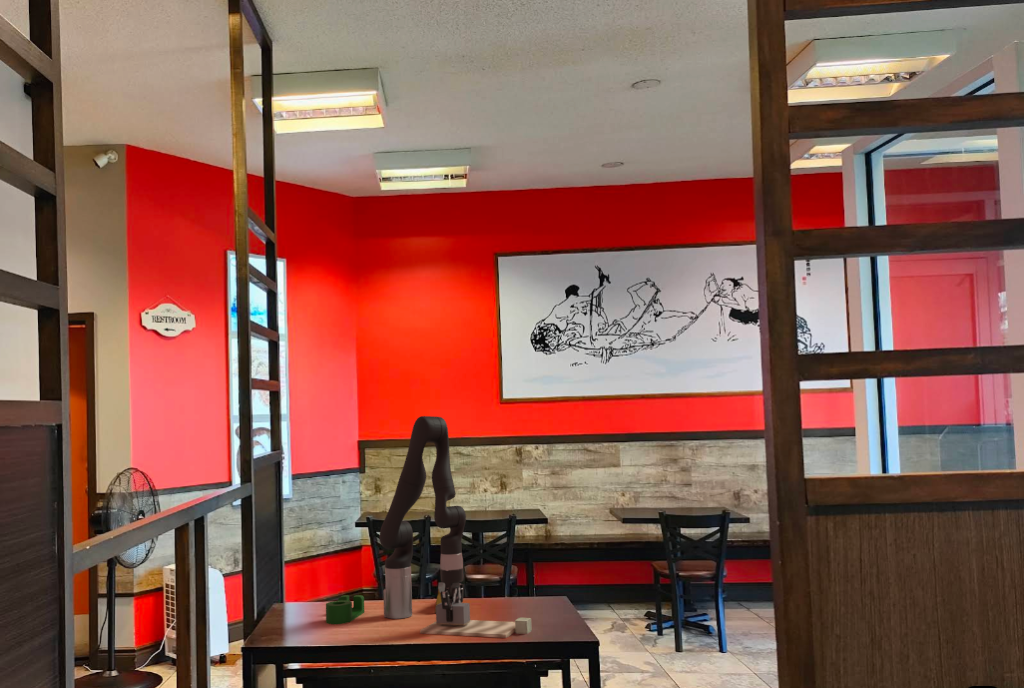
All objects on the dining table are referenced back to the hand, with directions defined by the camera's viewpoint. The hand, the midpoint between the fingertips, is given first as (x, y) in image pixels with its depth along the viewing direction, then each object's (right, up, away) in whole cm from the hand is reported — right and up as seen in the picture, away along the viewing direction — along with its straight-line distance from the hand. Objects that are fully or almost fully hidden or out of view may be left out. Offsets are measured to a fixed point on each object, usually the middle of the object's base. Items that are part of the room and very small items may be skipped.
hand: (453, 619), depth 262 cm
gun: (-5, -8, +35) cm, 37 cm away
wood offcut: (+23, -1, -9) cm, 25 cm away
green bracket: (-41, -8, +22) cm, 47 cm away
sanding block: (0, -1, 0) cm, 1 cm away
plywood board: (+6, -2, -3) cm, 7 cm away
